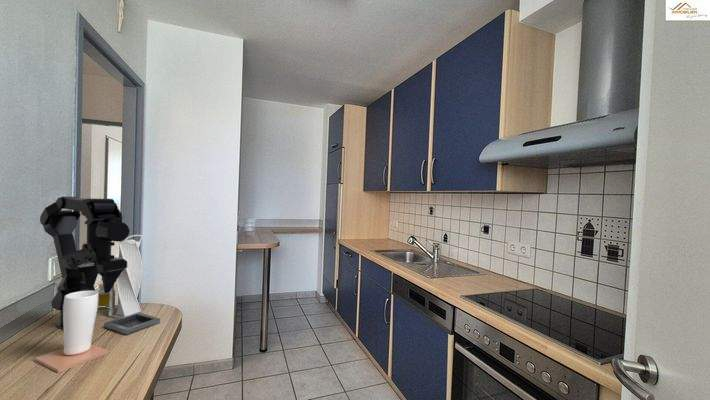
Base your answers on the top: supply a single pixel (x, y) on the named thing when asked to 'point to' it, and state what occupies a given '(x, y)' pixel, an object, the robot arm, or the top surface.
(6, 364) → the top surface
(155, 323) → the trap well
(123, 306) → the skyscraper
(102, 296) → the supplement bottle
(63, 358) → the terracotta tile
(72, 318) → the white cup
